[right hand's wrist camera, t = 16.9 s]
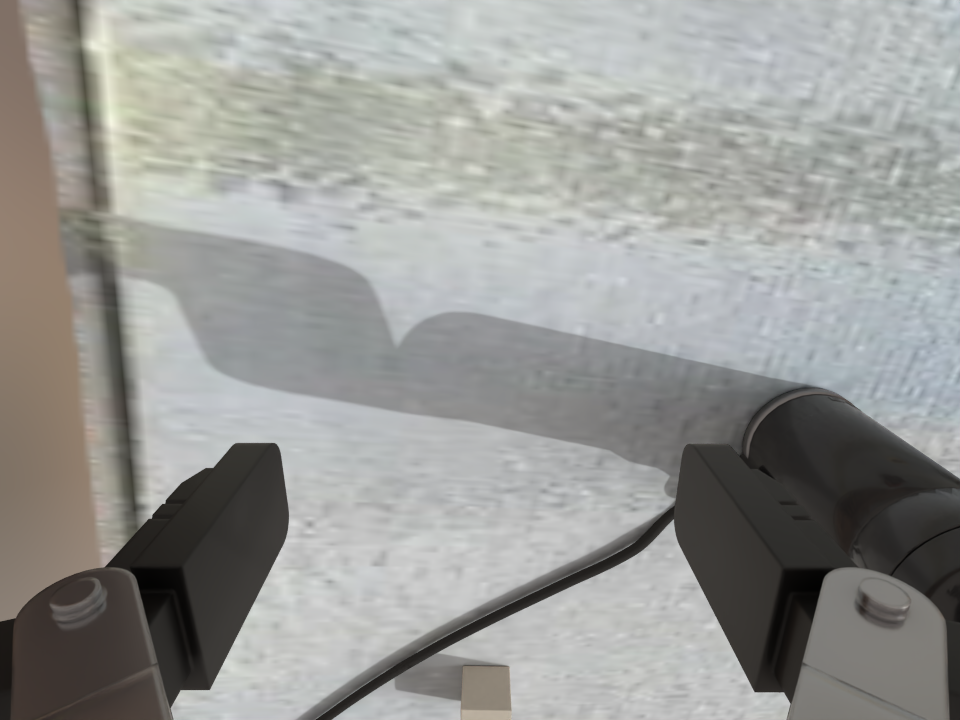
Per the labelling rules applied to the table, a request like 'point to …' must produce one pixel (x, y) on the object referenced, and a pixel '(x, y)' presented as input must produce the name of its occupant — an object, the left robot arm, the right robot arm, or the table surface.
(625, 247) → the table surface
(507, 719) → the beige cube
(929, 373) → the table surface
